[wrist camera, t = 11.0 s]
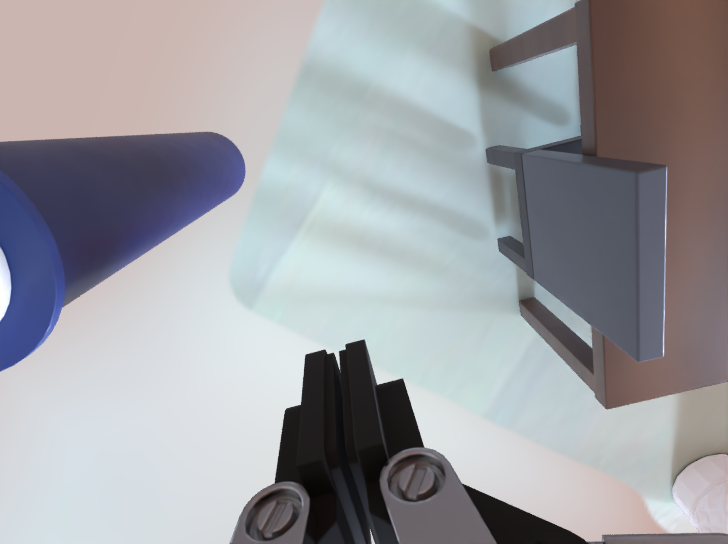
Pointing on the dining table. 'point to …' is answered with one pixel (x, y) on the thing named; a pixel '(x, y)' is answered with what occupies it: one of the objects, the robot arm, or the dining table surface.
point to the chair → (594, 238)
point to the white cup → (704, 493)
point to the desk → (659, 146)
